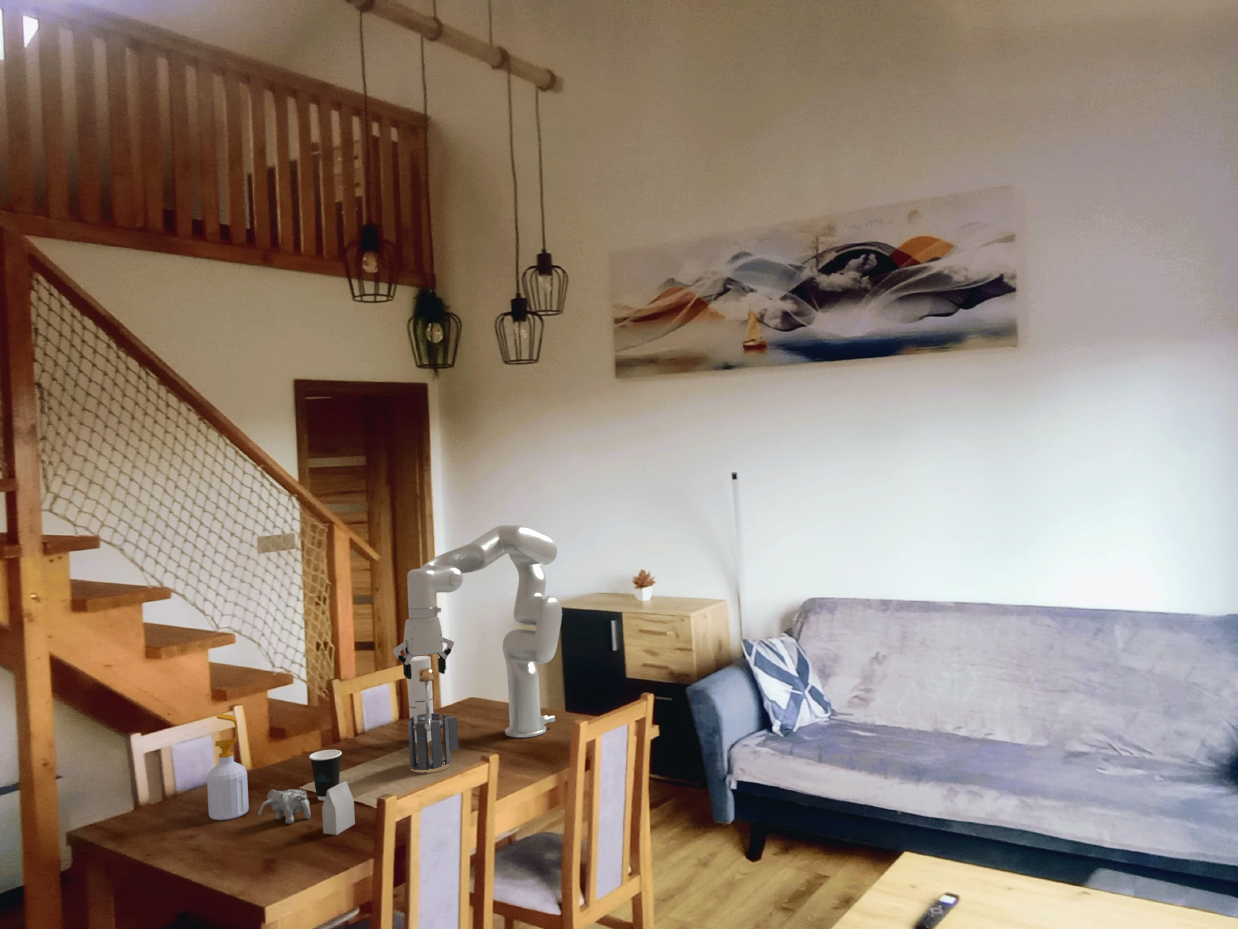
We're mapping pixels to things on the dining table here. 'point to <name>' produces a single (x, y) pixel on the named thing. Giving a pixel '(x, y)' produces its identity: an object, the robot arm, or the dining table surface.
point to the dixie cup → (325, 770)
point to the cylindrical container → (419, 691)
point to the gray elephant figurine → (287, 803)
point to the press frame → (432, 741)
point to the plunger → (427, 696)
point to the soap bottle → (227, 782)
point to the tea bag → (338, 809)
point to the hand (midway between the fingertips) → (425, 675)
